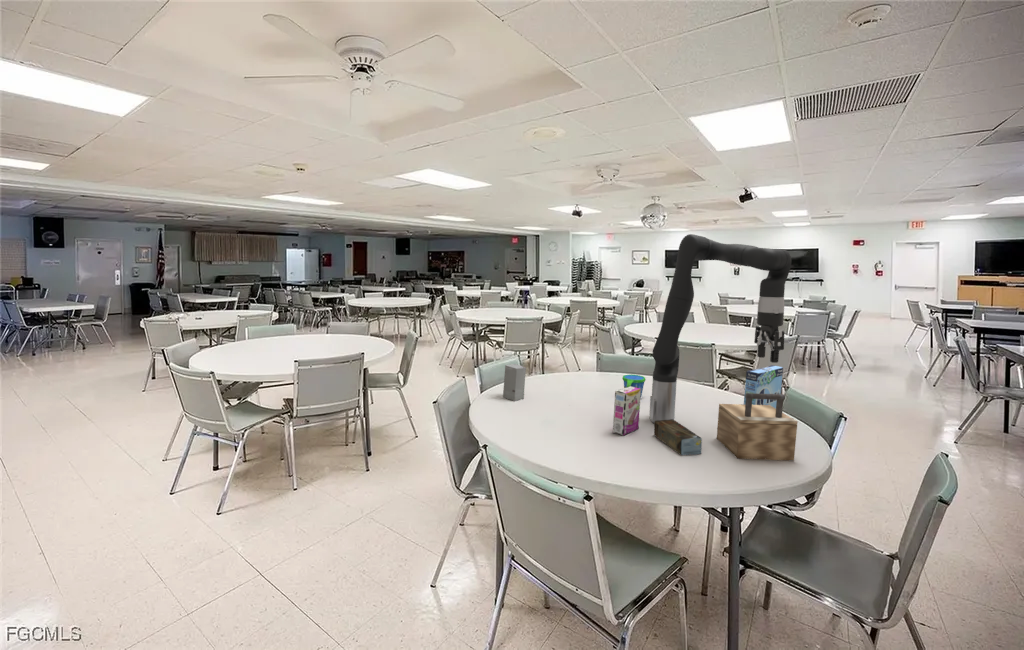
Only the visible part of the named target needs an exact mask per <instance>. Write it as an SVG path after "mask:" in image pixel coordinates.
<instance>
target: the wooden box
mask: <svg viewBox="0 0 1024 650" xmlns="http://www.w3.org/2000/svg"><path fill="white" fill-rule="evenodd" d="M716 429H717V431H716V440H718V442H720V443H721V445H723V446H724V447H725V448H726V449H727V451H729V452H730V453H731V454H732V455H733V456H734V457H735V458H736V459H739V460H766V461H767V460H768V461H789V460H794V461H795V454H796V453H795V452H796V444H797V433H798V432H797V430H798V424H797V425H791V424H757V423H740V422H738V421H737V420H736V419H735V418H733V417H732V416H731V415H729V414H728V413H727V412H725V411H724V410H723V409H722V408H720V407H719V406H718V416H717V428H716Z"/></svg>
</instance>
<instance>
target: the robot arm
mask: <svg viewBox="0 0 1024 650" xmlns="http://www.w3.org/2000/svg"><path fill="white" fill-rule="evenodd" d="M678 246H679V247H678V251H677V258H676V261H675V262H676V264H675V269H674V273H673V278H672V281H671V286H670V288H669V289H670V290H669V293H668V296H667V299H666V303H665V308H664V312H663V317H662V323H661V327H660V330H659V333H658V336H657V338H656V341H655V343H654V347H653V349H652V357H653V360H654V362H655V363H654V368H653V372H652V384H651V385H652V386H651V395H650V398H649V416H648V417H649V420H650V422H652V424H654V422H655V421H657V420H670V419H673V420H675V417H676V416H675V415H676V414H675V413H676V401H677V400H676V399H677V398H676V397H677V395H676V394H677V382H678V381H677V379H678V373H679V368H680V367H679V365H680V348H679V346H678V342H679V338H680V334H681V332H682V329H683V327H684V325H685V323H686V322H687V319H688V317H689V314H690V312H691V309H692V307H693V306H692V305H693V302H694V298H695V289H694V285H693V279H692V273H693V272H692V271H693V270H692V269H693V266H694V262H695V261H698V262H699V261H700V262H701V261H720V262H725V263H729V264H732V265H737V266H743V267H747V268H749V267H750V268H754V269H756V270H761V271H767V272H768V273H767V277H765V278H763V279H762V280H761V281H760V284H759V298H758V302H757V314H756V316H757V317H756V324H757V325H756V326H755V330H754V331H755V332H754V344H756V346H757V357H758V358H761V359H762V358H765V357H766V346H767V345H768V346H769V348H770V356H769V357H770V358H769V359H770V360H769V361H770V362H771V363H776V364H777V363H778V362H779V357H780V351H783V350H784V349H785V331H784V330H779V327H783V326H784V317H785V287H786V282H787V279H788V277H789V273H790V271H791V266H792V256H791V253H790V252H789V251H788V250H787V249H783V248H769V247H768V248H766V247H759V246H756V245H750V244H742V243H741V244H740V243H723V242H718V241H715V240H713V239H710V238H708V237H705V236H702V235H697V234H691V233H690V234H689V233H688V234H686V235H685V236H684V237H683V238H682V240H681V241H680V244H679V245H678Z"/></svg>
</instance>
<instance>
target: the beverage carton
mask: <svg viewBox="0 0 1024 650" xmlns="http://www.w3.org/2000/svg"><path fill="white" fill-rule="evenodd" d="M653 424H654V425H653V426H654V427H653V428H654V429H653V432H654V433H653V434H654V435H653V436H655V437H656V438H657V439H658V440H660V441H661V442H663V443H664V444H665V445H667V446H668V448H671V449H672V450H673V451H674V452H676V453H678V454H679V455H680V454H681V455H680V456H690V455H689V454H691V455H692V454H694V455H702V443H703V438H702V437H700V436H699V435H697V433H694V432H693V431H692V430H691V429H688V427H685V426H684V424H683V425H682V424H681V423H680V422H679V421H676V420H675V419H674V420H673V419H670V420H657V421H655V422H654V423H653Z"/></svg>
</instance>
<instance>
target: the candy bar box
mask: <svg viewBox="0 0 1024 650" xmlns="http://www.w3.org/2000/svg"><path fill="white" fill-rule="evenodd" d="M614 392H615V393H614V407H613V423H612V424H613V425H612V433H613V434H617V435H619V436H622V437H624V436H625V435H628V434H630V433H633V432H635V431H637V430H639V428H640V427H639V426H640V409H641V398H642V395H641V389H640V388H636V387H631V386H630V387H627V388H624V387H623V388H620V389H616V390H615V391H614ZM640 397H641V398H640Z"/></svg>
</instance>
